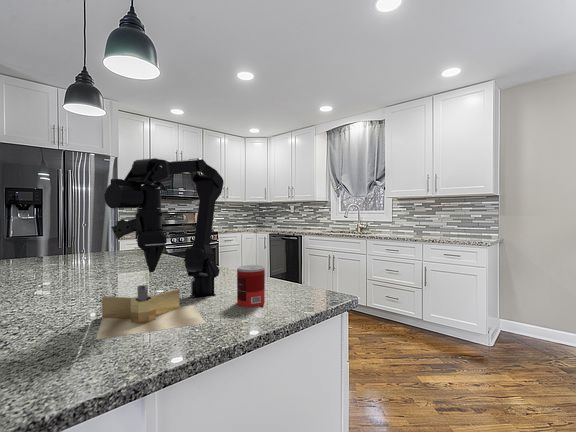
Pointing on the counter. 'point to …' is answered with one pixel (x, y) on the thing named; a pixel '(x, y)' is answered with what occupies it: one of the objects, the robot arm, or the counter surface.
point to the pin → (142, 292)
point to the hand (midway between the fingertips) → (150, 268)
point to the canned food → (251, 286)
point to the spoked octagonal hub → (140, 307)
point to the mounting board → (150, 323)
